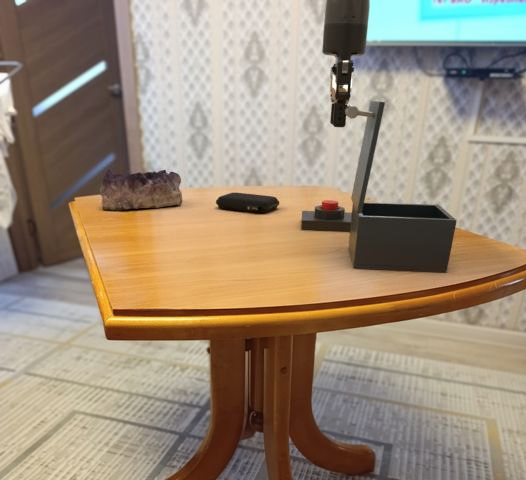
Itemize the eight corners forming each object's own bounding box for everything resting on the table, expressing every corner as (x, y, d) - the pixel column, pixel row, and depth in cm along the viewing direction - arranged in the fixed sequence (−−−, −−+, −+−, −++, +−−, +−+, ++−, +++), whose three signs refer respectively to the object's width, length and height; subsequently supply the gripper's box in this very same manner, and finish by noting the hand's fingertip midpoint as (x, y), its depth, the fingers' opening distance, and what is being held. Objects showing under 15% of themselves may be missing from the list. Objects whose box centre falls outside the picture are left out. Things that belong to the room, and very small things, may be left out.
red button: (337, 208, 113) (338, 200, 113) (338, 211, 110) (338, 203, 109) (321, 207, 114) (321, 199, 113) (321, 211, 110) (322, 203, 110)
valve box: (430, 251, 97) (438, 204, 93) (446, 272, 85) (456, 220, 81) (348, 248, 98) (352, 201, 94) (353, 268, 86) (358, 216, 82)
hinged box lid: (375, 100, 86) (345, 96, 86) (385, 102, 75) (351, 97, 75) (355, 199, 93) (328, 195, 93) (361, 213, 82) (331, 209, 82)
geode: (112, 215, 118) (103, 170, 115) (97, 213, 127) (88, 171, 124) (190, 204, 128) (184, 162, 125) (171, 202, 138) (165, 163, 134)
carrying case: (210, 209, 126) (264, 216, 121) (210, 197, 125) (264, 203, 120) (230, 202, 135) (281, 208, 130) (230, 190, 134) (282, 196, 128)
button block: (353, 222, 118) (355, 204, 116) (357, 232, 109) (359, 213, 107) (301, 220, 118) (302, 202, 117) (301, 230, 109) (302, 211, 108)
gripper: (373, 18, 81) (361, 129, 88) (363, 28, 94) (353, 124, 101) (326, 17, 81) (318, 127, 89) (322, 27, 94) (316, 123, 101)
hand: (337, 125), depth 95 cm, fingers open, 8 cm apart
